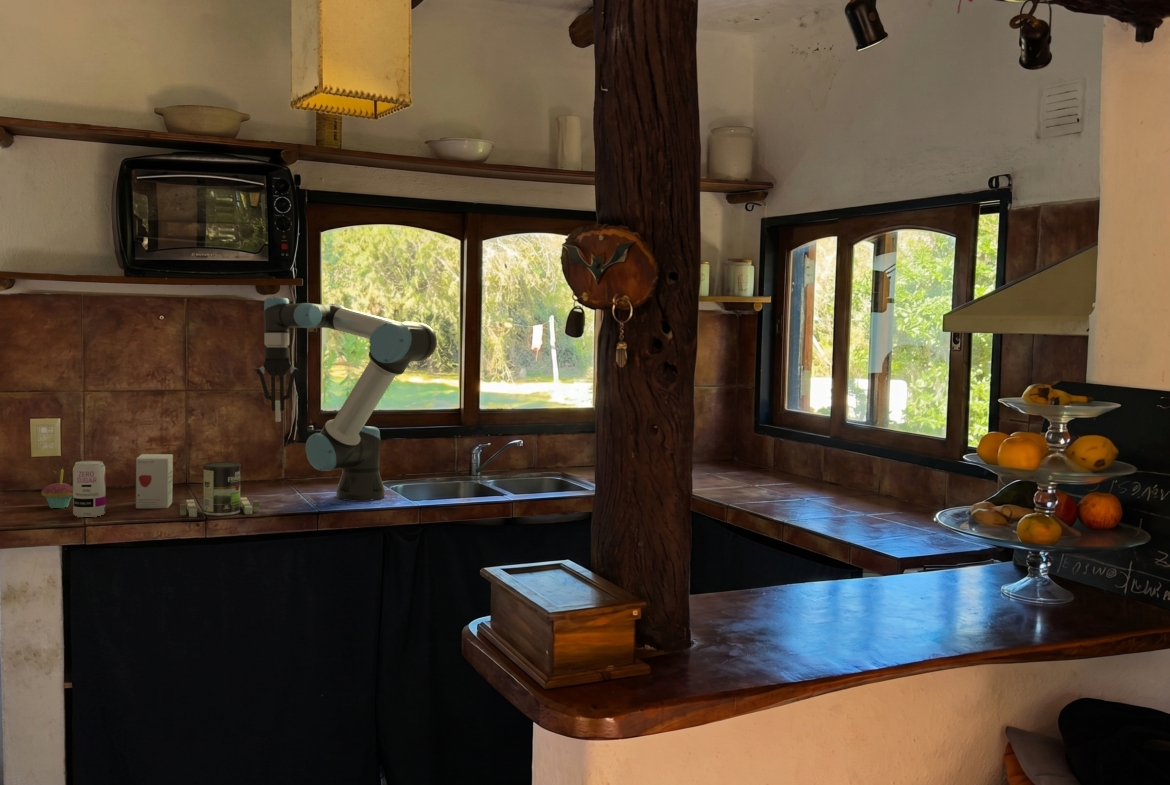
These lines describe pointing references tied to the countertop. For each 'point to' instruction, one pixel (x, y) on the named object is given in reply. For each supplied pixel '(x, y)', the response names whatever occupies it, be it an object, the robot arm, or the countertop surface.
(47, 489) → the cupcake
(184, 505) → the slot track
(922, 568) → the countertop surface
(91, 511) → the supplement can
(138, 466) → the supplement box
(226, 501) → the coffee can
